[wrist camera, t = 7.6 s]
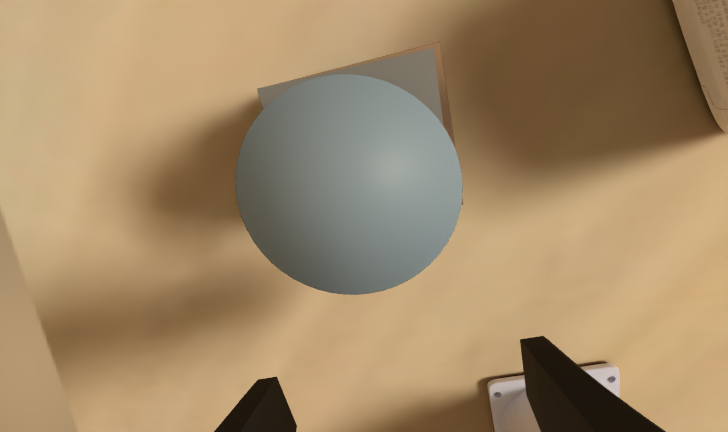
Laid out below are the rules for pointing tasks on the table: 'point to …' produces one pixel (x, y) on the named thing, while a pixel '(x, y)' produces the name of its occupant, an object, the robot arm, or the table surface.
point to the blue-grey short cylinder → (348, 184)
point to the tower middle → (385, 78)
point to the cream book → (708, 49)
